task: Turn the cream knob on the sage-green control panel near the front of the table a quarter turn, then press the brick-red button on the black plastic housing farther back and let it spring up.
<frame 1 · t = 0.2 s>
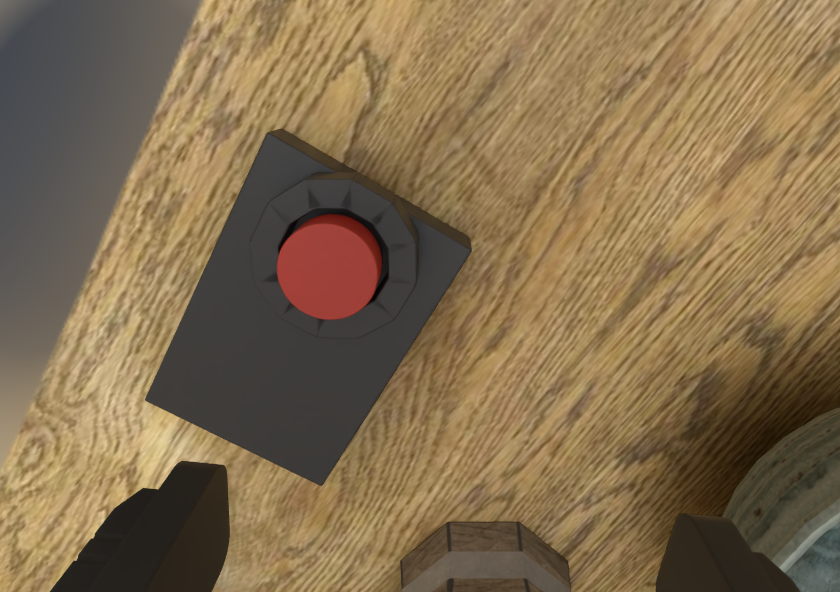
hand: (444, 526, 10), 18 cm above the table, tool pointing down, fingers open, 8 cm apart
bowl: (836, 483, 31), on the table
start button: (331, 266, 23), point 4 cm above the table, slide at 0.1 cm
button box: (308, 312, 29), on the table
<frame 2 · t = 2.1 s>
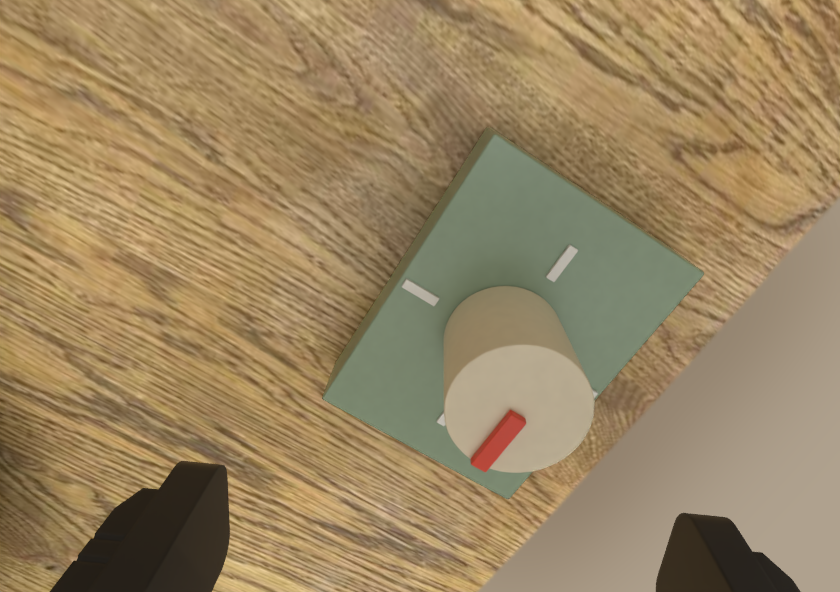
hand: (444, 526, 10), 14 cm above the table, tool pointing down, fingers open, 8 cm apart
dial panel: (495, 309, 24), on the table
dial knob: (510, 374, 19), point 6 cm above the table, hinge at 0.0°
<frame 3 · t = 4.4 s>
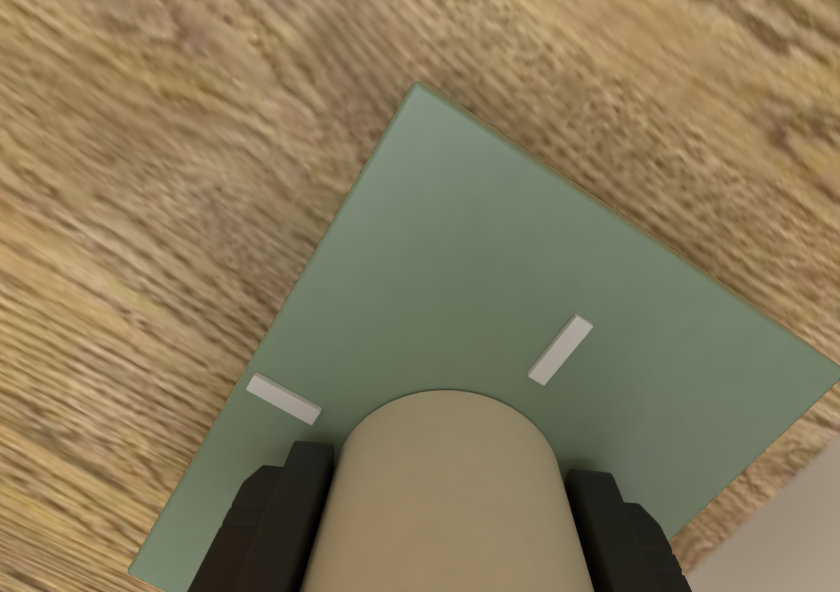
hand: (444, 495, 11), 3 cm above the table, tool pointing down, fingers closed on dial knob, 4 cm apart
dial panel: (446, 403, 14), on the table
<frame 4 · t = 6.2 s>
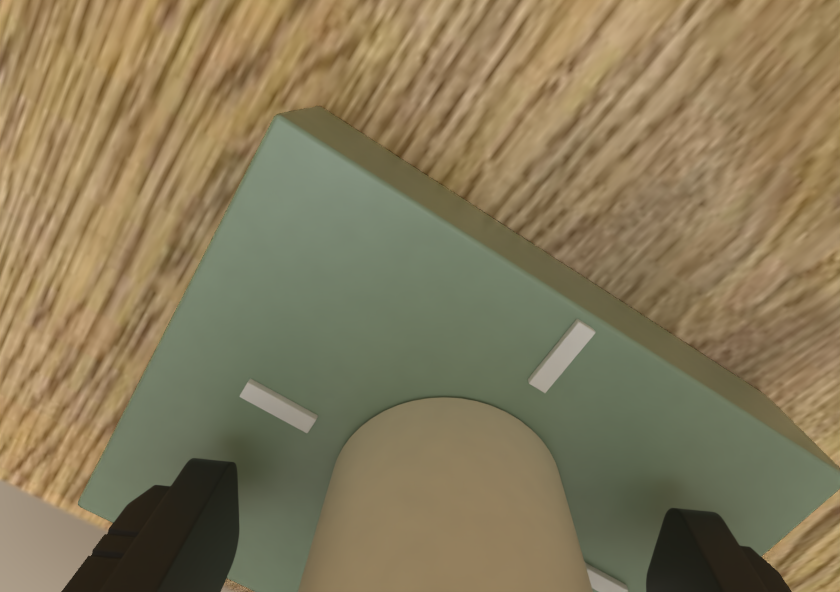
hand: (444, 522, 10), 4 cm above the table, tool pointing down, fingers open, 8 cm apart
dial panel: (445, 409, 14), on the table
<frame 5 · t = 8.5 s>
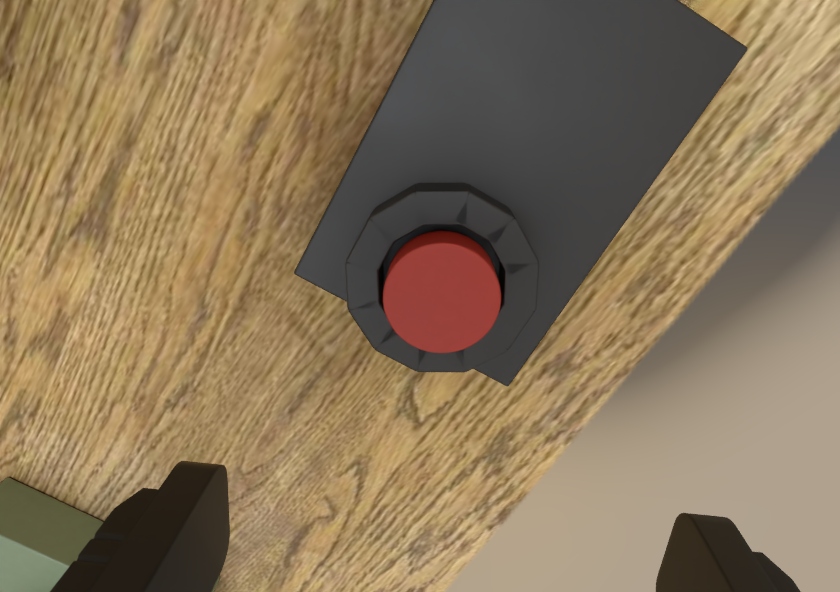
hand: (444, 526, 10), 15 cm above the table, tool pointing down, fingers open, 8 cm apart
dial panel: (88, 582, 31), on the table
start button: (441, 291, 20), point 4 cm above the table, slide at 0.1 cm
button box: (497, 162, 23), on the table
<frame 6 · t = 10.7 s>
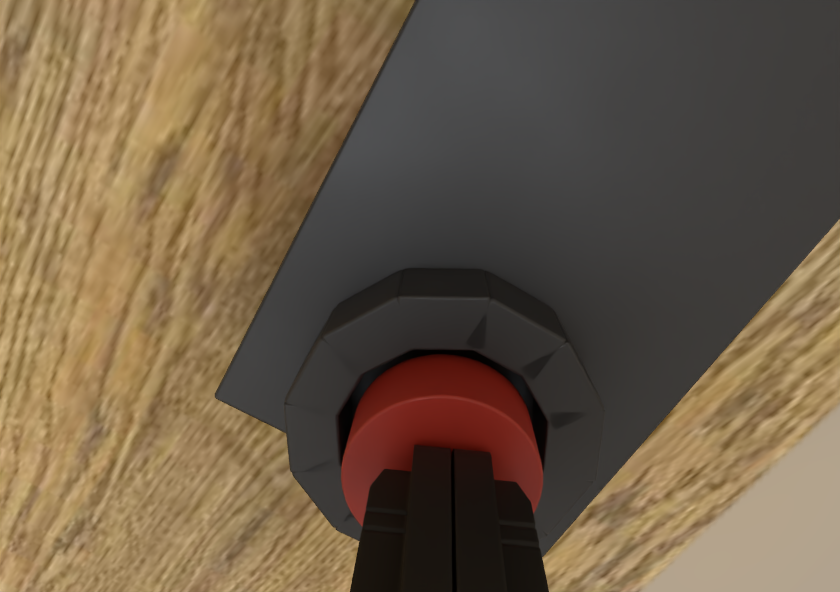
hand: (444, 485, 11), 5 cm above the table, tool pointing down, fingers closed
start button: (441, 456, 12), point 4 cm above the table, slide at 0.1 cm, touching gripper
button box: (531, 226, 15), on the table
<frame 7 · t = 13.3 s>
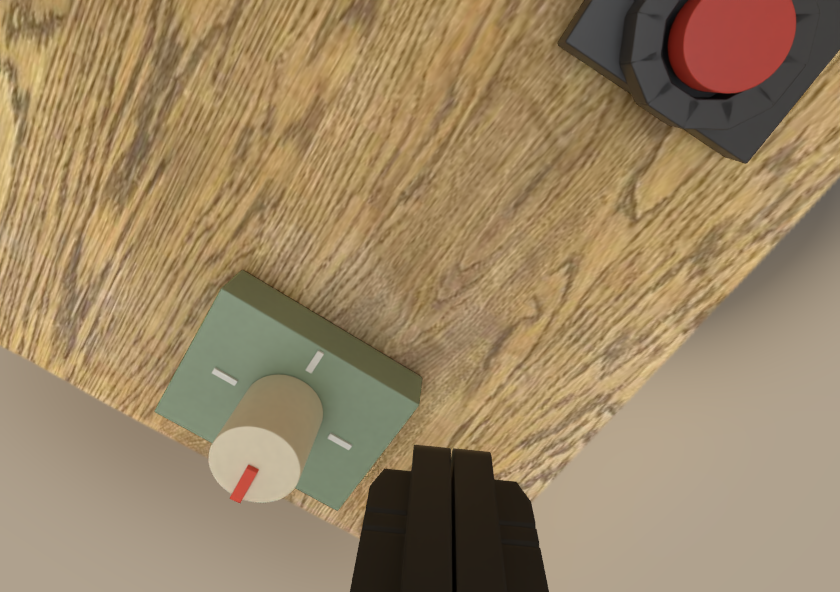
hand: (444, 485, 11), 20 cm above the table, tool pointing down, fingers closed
dial panel: (298, 381, 34), on the table
start button: (728, 37, 22), point 4 cm above the table, slide at 0.1 cm
dial knob: (269, 437, 29), point 6 cm above the table, hinge at 93.5°
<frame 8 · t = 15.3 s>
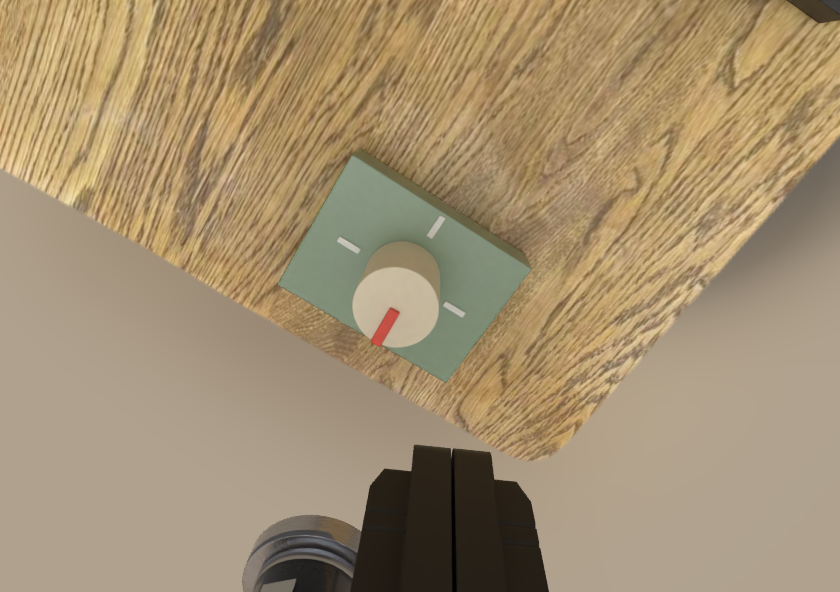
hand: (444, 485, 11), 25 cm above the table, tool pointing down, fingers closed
dial panel: (406, 261, 36), on the table
dial knob: (399, 292, 30), point 6 cm above the table, hinge at 93.5°
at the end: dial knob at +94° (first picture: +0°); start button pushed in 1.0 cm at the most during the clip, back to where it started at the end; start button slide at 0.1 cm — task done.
